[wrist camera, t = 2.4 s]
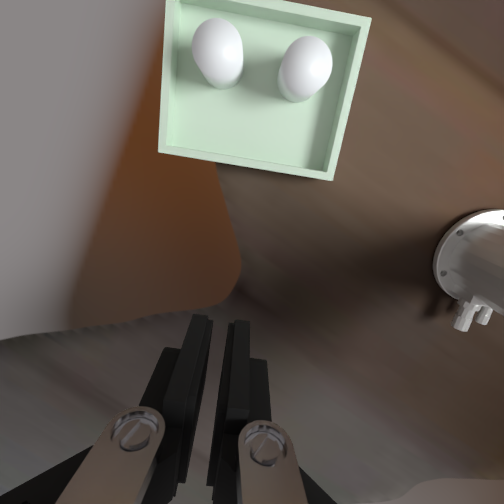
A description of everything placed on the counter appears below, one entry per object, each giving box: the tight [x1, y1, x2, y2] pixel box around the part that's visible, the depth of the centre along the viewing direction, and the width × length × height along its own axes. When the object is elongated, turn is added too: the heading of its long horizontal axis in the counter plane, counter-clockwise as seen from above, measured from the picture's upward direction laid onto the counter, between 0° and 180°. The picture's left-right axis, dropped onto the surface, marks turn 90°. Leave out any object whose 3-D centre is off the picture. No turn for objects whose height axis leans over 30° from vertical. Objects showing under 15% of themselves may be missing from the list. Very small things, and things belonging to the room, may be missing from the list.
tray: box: [158, 0, 372, 181], centre depth 31 cm, size 15×19×3 cm
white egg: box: [192, 18, 244, 90], centre depth 28 cm, size 4×4×6 cm
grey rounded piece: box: [277, 36, 332, 103], centre depth 29 cm, size 4×4×6 cm
